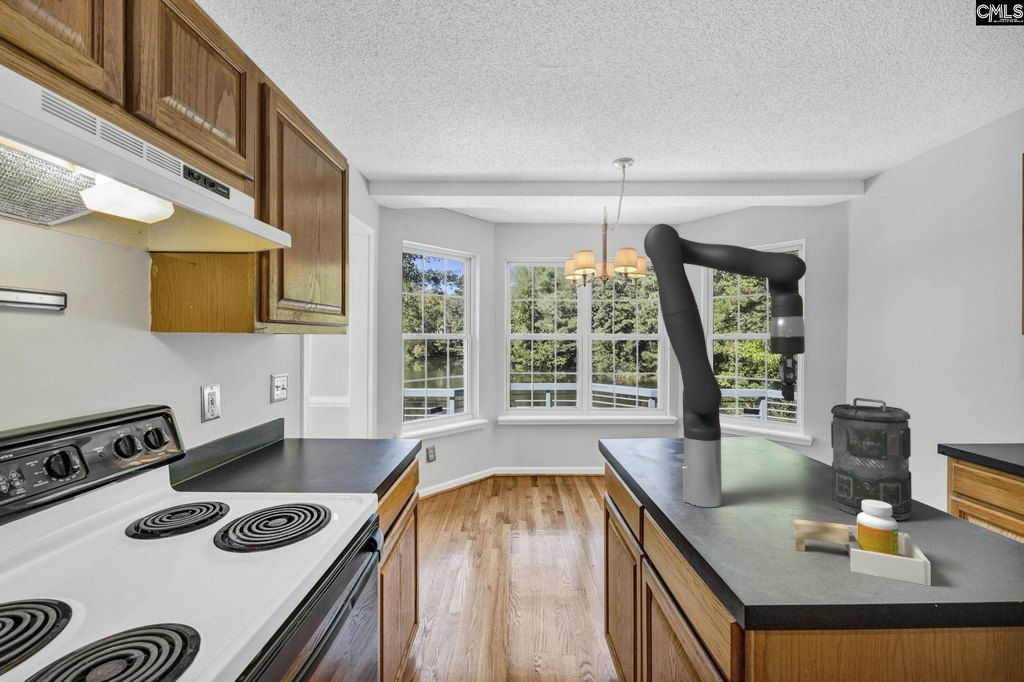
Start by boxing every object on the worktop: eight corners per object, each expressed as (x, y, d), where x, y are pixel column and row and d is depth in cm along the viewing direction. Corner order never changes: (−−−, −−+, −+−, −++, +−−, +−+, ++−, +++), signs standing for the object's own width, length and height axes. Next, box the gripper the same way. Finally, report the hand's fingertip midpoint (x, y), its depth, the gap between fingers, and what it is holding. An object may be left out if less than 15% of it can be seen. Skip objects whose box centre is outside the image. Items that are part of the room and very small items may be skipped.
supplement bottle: (901, 573, 84) (900, 511, 84) (858, 564, 88) (857, 505, 88) (896, 559, 89) (895, 501, 89) (856, 551, 93) (855, 495, 93)
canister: (817, 504, 119) (816, 397, 119) (856, 496, 125) (855, 394, 125) (886, 526, 105) (884, 404, 105) (926, 516, 111) (925, 400, 111)
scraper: (797, 556, 91) (796, 528, 91) (793, 539, 99) (792, 513, 99) (862, 566, 86) (860, 536, 86) (853, 546, 94) (851, 519, 94)
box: (851, 571, 85) (851, 549, 85) (839, 542, 97) (838, 523, 97) (930, 585, 80) (930, 563, 80) (907, 553, 92) (906, 533, 92)
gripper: (769, 335, 124) (769, 395, 124) (771, 335, 112) (772, 401, 112) (801, 335, 121) (802, 396, 121) (807, 334, 108) (808, 403, 108)
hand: (787, 398), depth 116 cm, fingers open, 8 cm apart
